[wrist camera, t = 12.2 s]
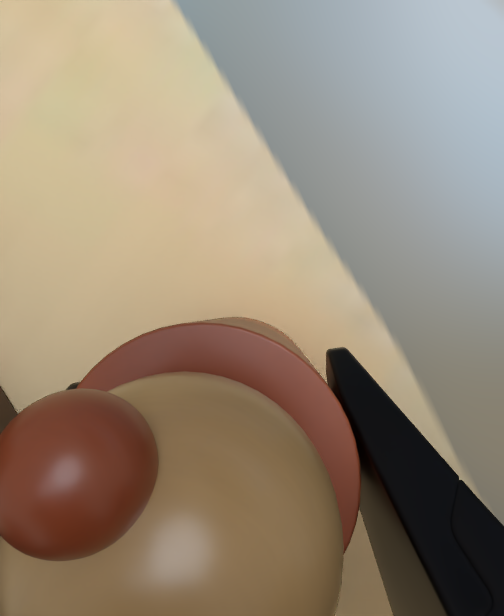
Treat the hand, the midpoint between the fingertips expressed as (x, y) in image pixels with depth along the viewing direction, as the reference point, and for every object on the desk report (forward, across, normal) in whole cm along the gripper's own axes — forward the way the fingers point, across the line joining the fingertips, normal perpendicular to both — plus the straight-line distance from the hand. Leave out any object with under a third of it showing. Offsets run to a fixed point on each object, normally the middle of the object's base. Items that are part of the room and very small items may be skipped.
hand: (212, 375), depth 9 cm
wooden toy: (+2, 0, +4) cm, 4 cm away
